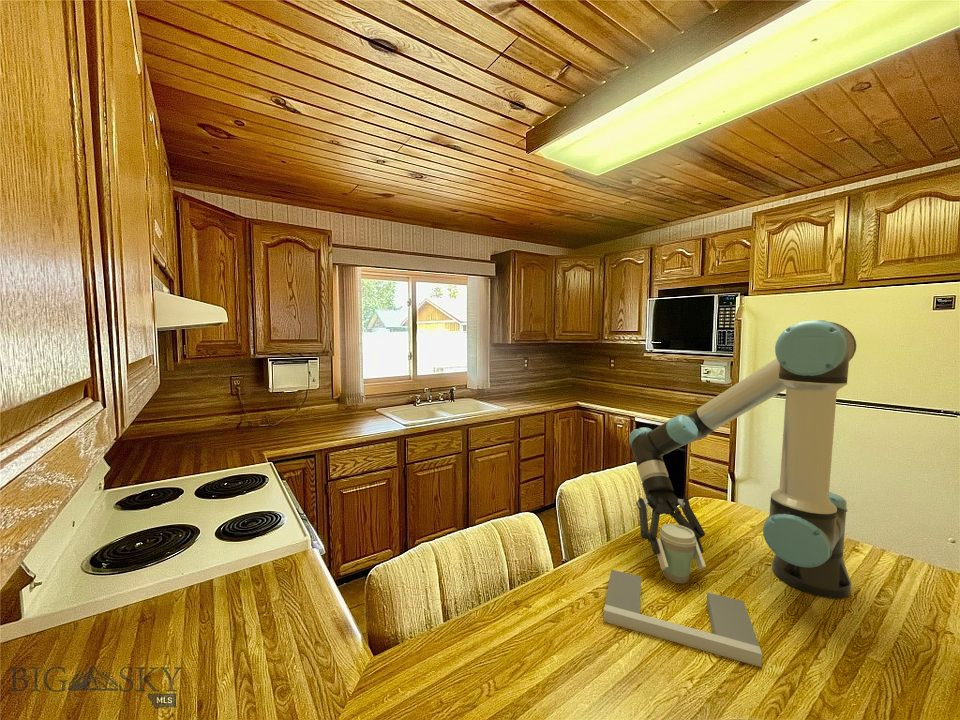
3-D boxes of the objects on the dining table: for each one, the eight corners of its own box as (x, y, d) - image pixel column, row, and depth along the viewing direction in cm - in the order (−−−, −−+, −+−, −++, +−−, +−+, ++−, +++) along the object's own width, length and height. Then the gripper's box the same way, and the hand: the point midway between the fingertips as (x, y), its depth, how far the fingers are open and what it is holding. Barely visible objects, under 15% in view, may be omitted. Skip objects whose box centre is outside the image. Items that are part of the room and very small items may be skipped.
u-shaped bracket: (743, 611, 87) (743, 600, 87) (761, 667, 72) (762, 654, 72) (610, 579, 98) (611, 569, 98) (603, 621, 83) (604, 610, 83)
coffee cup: (699, 589, 94) (702, 541, 94) (661, 584, 96) (664, 537, 95) (688, 568, 103) (690, 524, 102) (653, 564, 104) (655, 521, 104)
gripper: (686, 485, 114) (718, 571, 99) (614, 485, 113) (635, 572, 98) (698, 474, 108) (734, 563, 93) (622, 474, 108) (645, 564, 93)
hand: (683, 568), depth 96 cm, fingers closed on coffee cup, 8 cm apart
